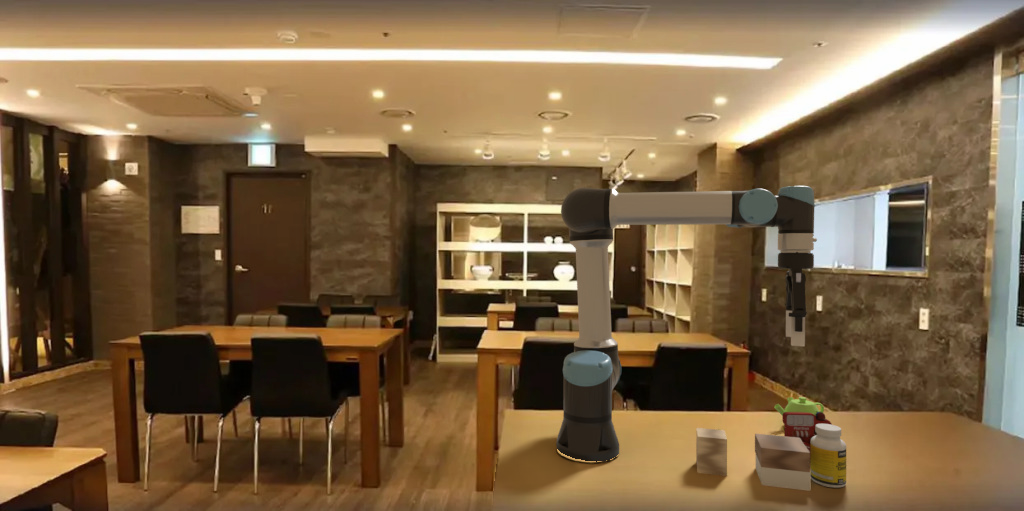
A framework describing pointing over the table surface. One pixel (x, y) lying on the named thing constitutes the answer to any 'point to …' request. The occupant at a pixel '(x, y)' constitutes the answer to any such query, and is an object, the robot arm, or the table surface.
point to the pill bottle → (828, 456)
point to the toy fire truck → (803, 425)
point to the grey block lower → (783, 478)
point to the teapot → (800, 406)
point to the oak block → (711, 451)
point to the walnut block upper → (782, 452)
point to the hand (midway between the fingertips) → (794, 341)
